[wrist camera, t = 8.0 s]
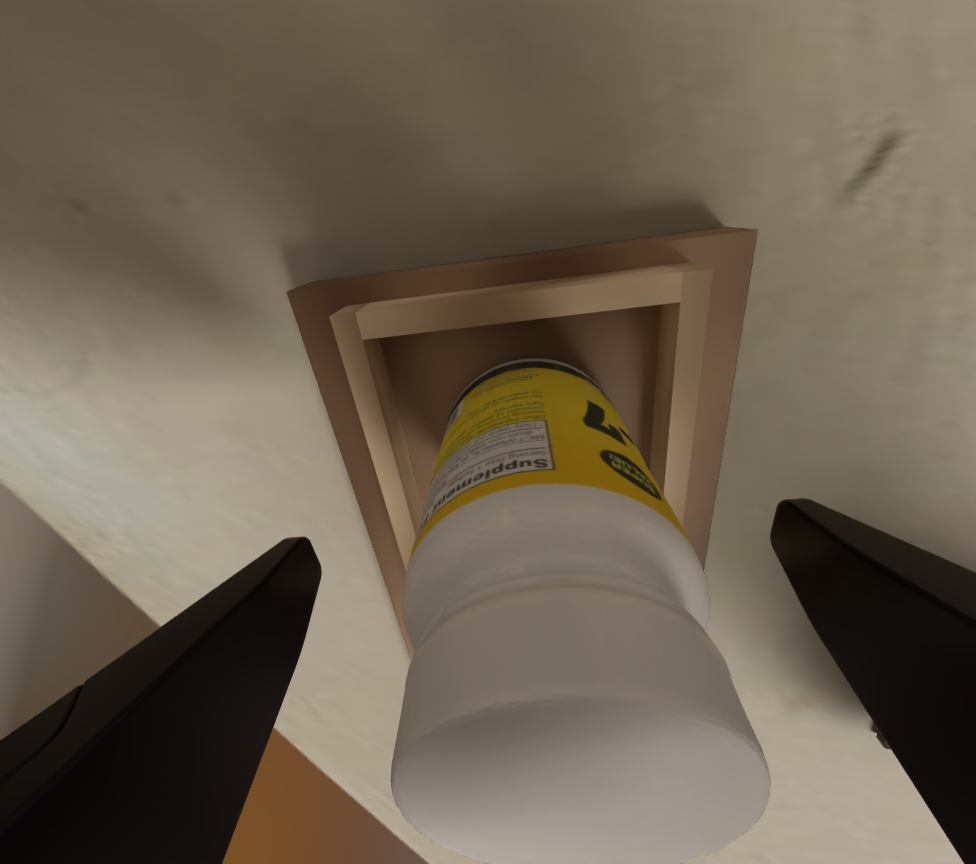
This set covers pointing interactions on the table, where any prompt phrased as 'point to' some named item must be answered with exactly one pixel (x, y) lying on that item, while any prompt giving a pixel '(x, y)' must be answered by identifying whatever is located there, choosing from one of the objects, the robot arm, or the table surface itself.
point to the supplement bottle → (563, 646)
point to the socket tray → (531, 334)
